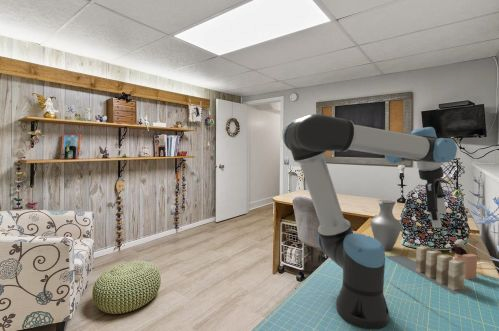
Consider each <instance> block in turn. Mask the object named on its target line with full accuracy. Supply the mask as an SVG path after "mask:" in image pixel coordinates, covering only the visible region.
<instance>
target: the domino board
mask: <svg viewBox="0 0 499 331" xmlns="http://www.w3.org/2000/svg"><path fill="white" fill-rule="evenodd" d="M385 258H387V259H389V260H391V262H395V263H396V264H398V265H400V266H402V267H403V268H405V269H407V270H409V271H411V272H412V273H415V274H417V275H418V276H420V277H422V278H424V279H426V280H428V281H429V282H431V283H433V284H435V285H436V286H439V287H440V288H443V289H444V290H446V291H448V292H449V293H451V294H454V295H458V294H464V293H471V292H474V290H473V289H471V288H470V287H467V286H465V285H464V289H459V290H452V289H450V288H448V283H444V284H440V283H438V282H437V281H436V277H434V278H429V277H427V276H425V273H426V272H421V273H420V272H418V271H416V260H412V259H410V258H408V257H406V256H404V255H402V254H397V255H395V254H394V255H388V256H386V255H385Z"/></svg>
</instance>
